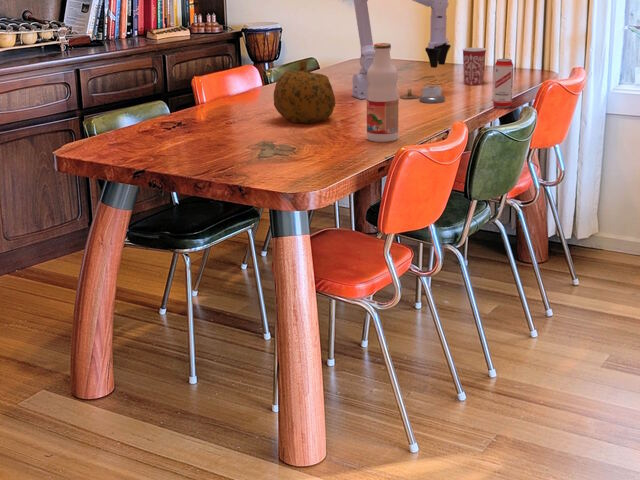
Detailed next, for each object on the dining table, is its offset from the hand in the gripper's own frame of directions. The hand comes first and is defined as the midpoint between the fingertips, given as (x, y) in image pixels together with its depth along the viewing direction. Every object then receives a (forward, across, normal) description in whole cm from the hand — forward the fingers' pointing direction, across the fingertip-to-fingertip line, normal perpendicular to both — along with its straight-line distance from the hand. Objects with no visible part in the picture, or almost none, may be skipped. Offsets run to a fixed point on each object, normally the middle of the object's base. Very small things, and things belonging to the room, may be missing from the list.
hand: (437, 65), depth 337 cm
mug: (+11, +27, -5) cm, 30 cm away
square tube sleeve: (+9, -13, -3) cm, 16 cm away
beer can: (+11, -14, -30) cm, 35 cm away
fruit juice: (+11, -74, -12) cm, 76 cm away
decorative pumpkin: (+11, -60, +22) cm, 65 cm away
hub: (+10, -13, -3) cm, 17 cm away
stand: (+10, -10, +7) cm, 16 cm away
